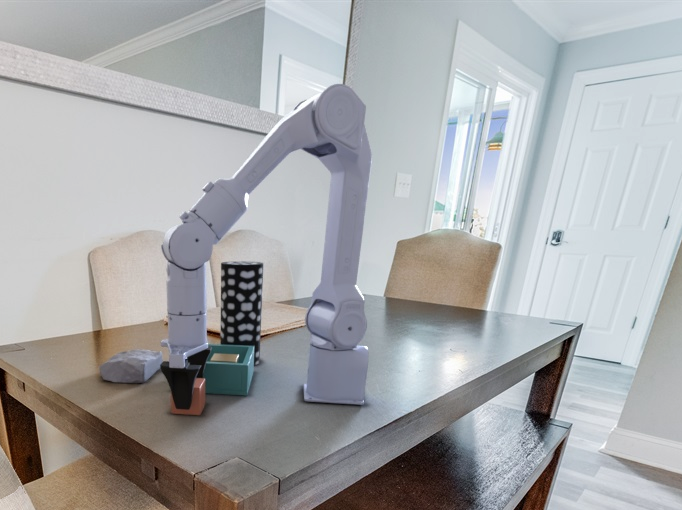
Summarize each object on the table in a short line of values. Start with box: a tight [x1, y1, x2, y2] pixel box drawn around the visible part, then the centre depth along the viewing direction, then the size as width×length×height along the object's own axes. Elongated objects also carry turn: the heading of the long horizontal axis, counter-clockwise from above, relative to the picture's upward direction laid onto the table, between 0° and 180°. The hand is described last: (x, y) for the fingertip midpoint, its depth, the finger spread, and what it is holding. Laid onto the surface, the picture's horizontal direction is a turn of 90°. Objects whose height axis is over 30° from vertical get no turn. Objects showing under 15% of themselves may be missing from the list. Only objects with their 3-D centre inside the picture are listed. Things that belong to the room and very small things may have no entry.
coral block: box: [170, 378, 206, 416], centre depth 72 cm, size 4×4×4 cm
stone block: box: [98, 348, 164, 384], centre depth 89 cm, size 12×5×10 cm
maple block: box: [210, 353, 239, 363], centre depth 82 cm, size 4×4×4 cm
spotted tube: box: [219, 260, 264, 366], centre depth 94 cm, size 8×8×20 cm
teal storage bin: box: [203, 343, 255, 397], centre depth 84 cm, size 13×13×5 cm
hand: (188, 399), depth 72 cm, fingers open, 7 cm apart
